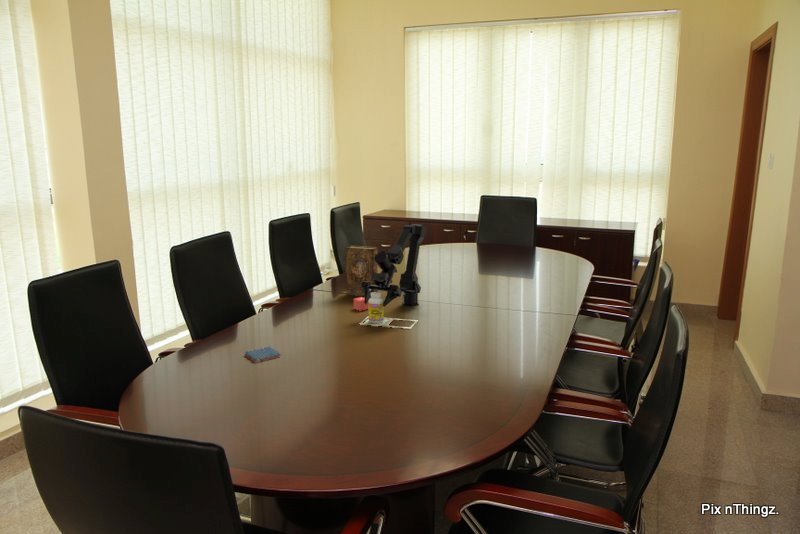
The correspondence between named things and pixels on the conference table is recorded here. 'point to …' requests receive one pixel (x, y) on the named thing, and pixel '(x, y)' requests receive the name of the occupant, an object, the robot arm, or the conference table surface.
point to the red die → (360, 304)
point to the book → (359, 268)
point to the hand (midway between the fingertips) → (374, 305)
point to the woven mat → (262, 354)
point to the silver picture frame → (387, 323)
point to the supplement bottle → (376, 308)
